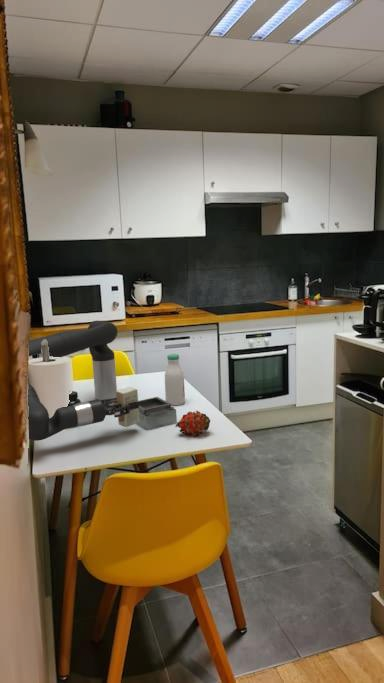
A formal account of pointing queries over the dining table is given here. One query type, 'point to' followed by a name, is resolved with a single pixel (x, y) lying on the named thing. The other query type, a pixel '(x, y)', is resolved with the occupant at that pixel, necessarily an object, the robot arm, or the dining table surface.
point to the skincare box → (124, 398)
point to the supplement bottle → (73, 398)
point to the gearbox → (156, 413)
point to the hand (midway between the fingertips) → (134, 402)
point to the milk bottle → (174, 381)
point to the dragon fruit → (193, 423)
